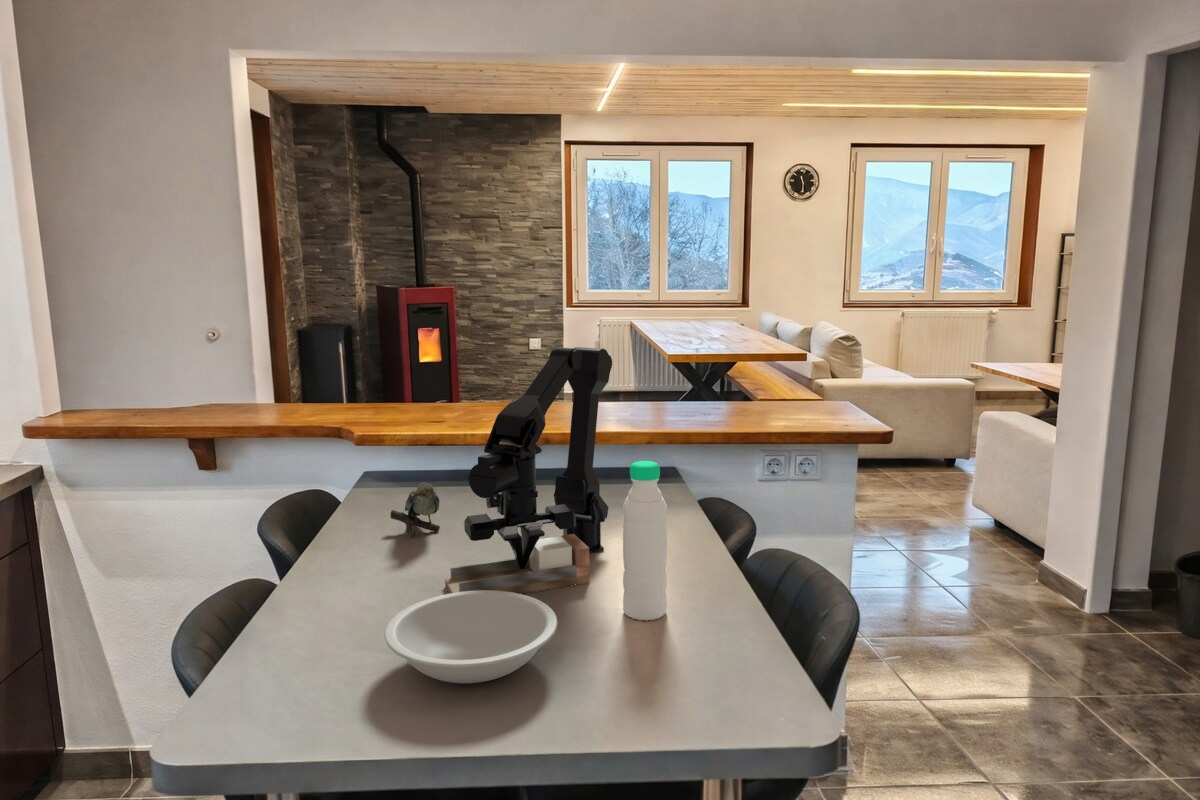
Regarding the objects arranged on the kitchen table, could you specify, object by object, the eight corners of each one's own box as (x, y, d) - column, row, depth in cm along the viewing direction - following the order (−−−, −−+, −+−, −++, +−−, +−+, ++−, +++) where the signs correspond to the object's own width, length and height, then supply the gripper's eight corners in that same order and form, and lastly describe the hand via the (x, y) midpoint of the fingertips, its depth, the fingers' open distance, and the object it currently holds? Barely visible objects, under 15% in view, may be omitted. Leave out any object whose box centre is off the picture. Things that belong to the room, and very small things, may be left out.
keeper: (561, 562, 156) (560, 536, 155) (572, 573, 151) (571, 546, 150) (529, 566, 154) (529, 540, 153) (539, 578, 148) (539, 551, 148)
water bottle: (671, 607, 141) (672, 459, 136) (660, 624, 134) (660, 470, 130) (630, 601, 143) (629, 456, 138) (617, 618, 136) (616, 467, 132)
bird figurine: (388, 515, 187) (388, 450, 174) (433, 512, 190) (437, 447, 177) (392, 564, 178) (393, 498, 165) (440, 559, 181) (444, 495, 168)
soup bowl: (576, 637, 130) (575, 596, 129) (528, 722, 107) (527, 673, 106) (430, 623, 136) (428, 584, 134) (354, 701, 113) (351, 654, 112)
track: (574, 567, 158) (574, 533, 157) (589, 583, 151) (589, 548, 150) (445, 586, 150) (443, 551, 149) (454, 604, 143) (453, 567, 141)
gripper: (556, 466, 158) (558, 546, 161) (456, 476, 152) (459, 560, 154) (576, 481, 148) (577, 567, 151) (469, 493, 141) (473, 582, 144)
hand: (521, 568), depth 150 cm, fingers closed
